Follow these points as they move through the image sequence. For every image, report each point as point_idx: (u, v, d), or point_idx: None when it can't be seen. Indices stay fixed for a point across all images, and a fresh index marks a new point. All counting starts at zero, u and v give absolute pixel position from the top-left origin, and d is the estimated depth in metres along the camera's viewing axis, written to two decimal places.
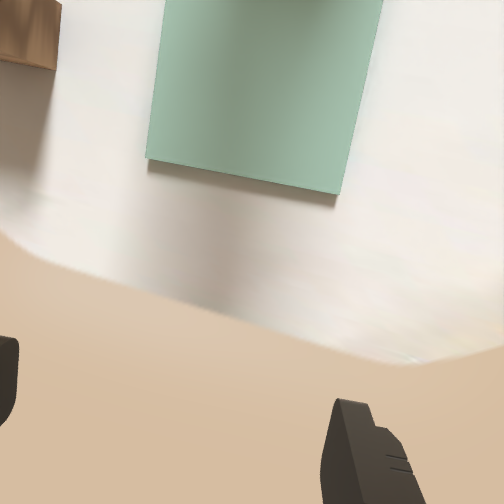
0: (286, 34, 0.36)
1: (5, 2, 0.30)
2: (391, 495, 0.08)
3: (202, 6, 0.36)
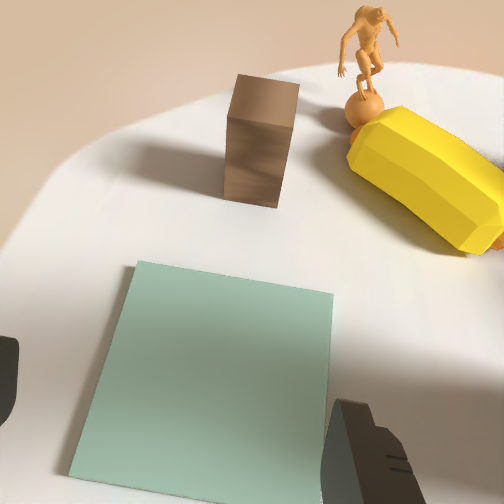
0: (255, 401, 0.33)
1: (263, 146, 0.37)
2: (391, 495, 0.08)
3: (279, 317, 0.37)
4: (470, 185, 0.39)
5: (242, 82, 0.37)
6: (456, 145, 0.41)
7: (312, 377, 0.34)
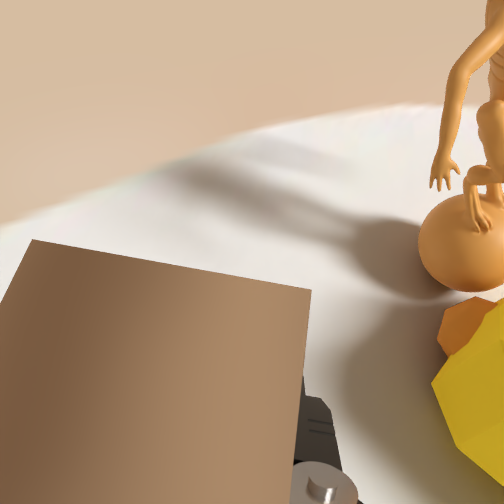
0: None
1: None
2: (303, 449, 0.09)
3: None
4: None
5: (39, 290, 0.08)
6: None
7: None
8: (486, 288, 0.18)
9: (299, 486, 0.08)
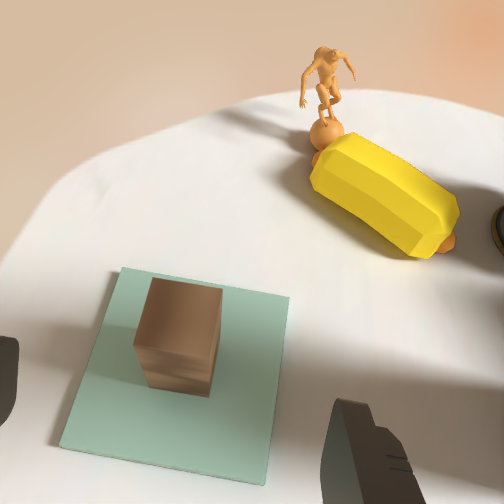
0: (217, 387, 0.39)
1: (181, 363, 0.32)
2: (391, 495, 0.08)
3: (241, 316, 0.43)
4: (415, 201, 0.45)
5: (156, 289, 0.33)
6: (401, 166, 0.47)
7: (266, 368, 0.41)
8: None
9: None
